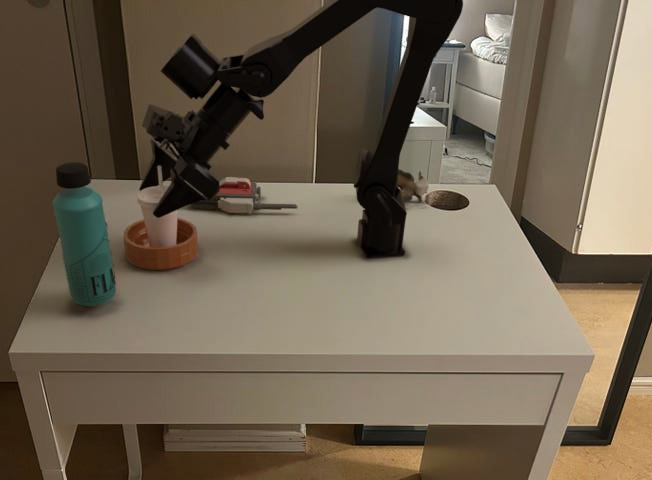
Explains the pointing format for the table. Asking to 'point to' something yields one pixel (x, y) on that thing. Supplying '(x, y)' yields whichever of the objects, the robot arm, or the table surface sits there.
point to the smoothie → (158, 229)
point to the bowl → (160, 256)
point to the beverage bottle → (83, 237)
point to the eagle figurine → (411, 186)
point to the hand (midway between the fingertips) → (148, 203)
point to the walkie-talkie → (239, 197)
